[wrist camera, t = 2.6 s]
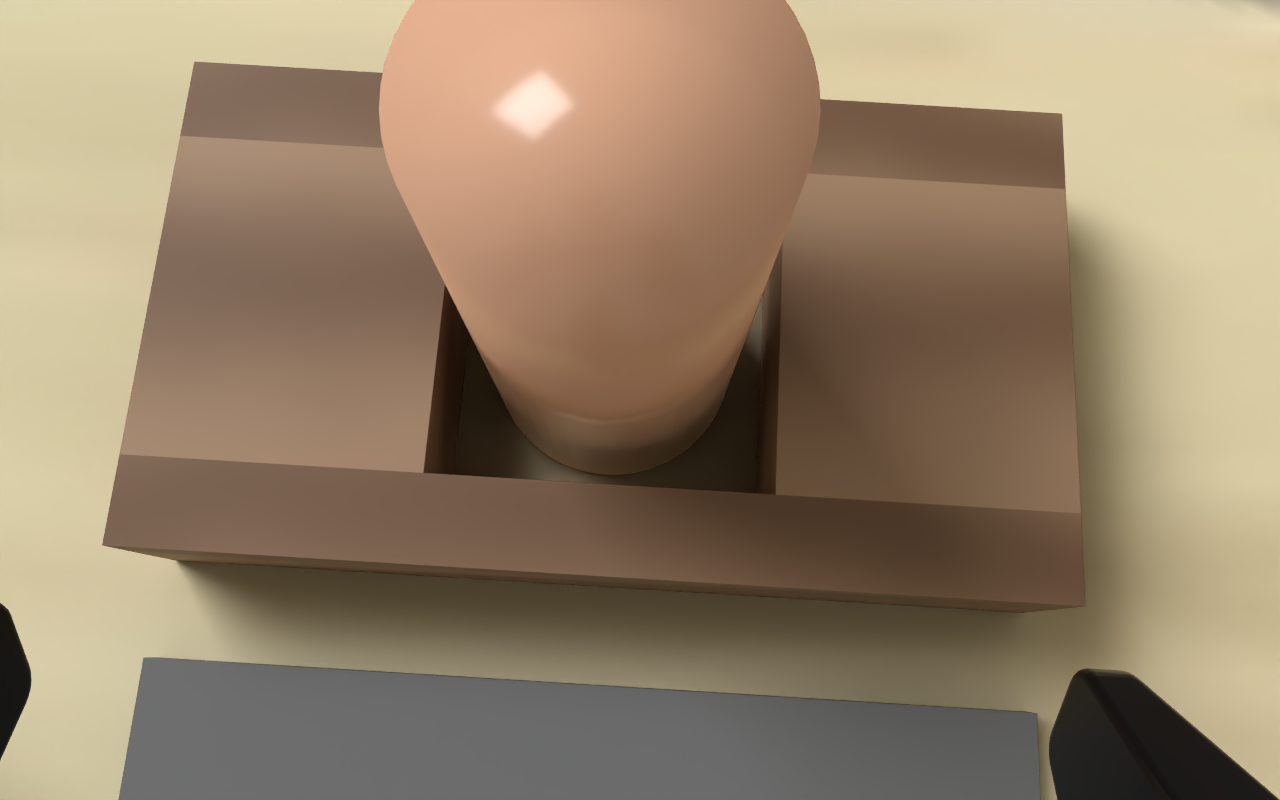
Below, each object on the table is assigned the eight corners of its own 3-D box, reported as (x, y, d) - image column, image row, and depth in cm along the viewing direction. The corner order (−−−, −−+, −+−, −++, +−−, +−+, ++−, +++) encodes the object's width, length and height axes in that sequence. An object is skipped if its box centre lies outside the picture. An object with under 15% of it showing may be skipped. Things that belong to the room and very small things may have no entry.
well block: (1022, 612, 21) (1085, 606, 18) (174, 559, 21) (102, 545, 18) (1008, 180, 24) (1061, 113, 21) (247, 134, 24) (194, 61, 21)
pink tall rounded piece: (646, 521, 22) (665, 393, 11) (450, 391, 22) (288, 151, 12) (772, 329, 23) (901, 44, 12) (582, 211, 23) (545, -159, 13)
